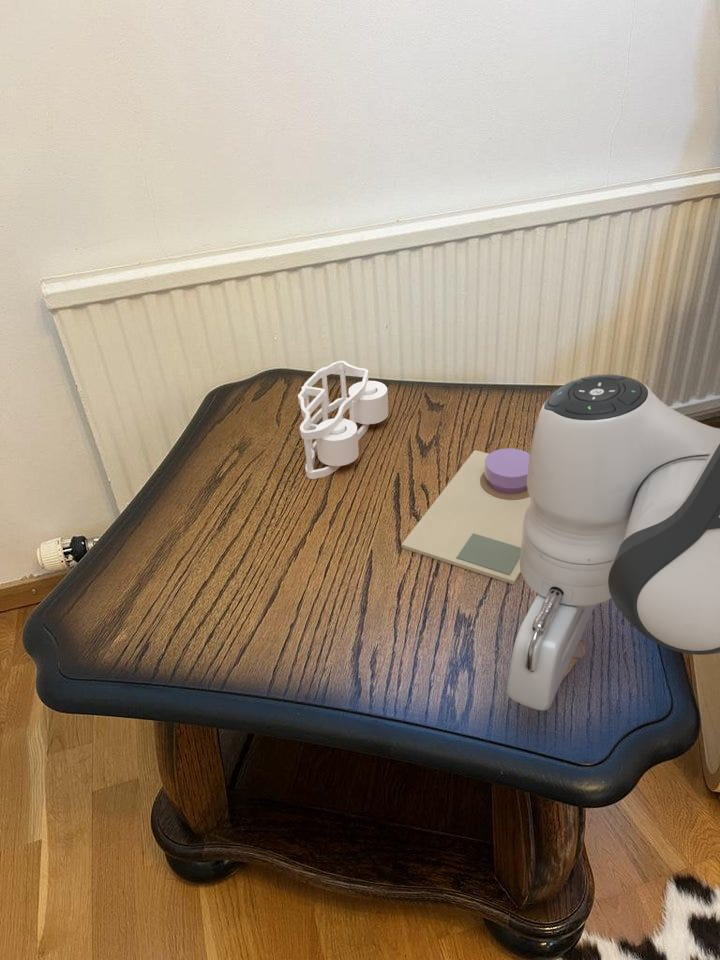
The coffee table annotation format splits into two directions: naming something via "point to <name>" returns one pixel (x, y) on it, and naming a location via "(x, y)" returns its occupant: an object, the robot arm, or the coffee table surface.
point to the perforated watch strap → (575, 657)
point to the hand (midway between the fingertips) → (558, 664)
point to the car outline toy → (339, 417)
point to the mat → (473, 525)
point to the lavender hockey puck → (507, 470)
